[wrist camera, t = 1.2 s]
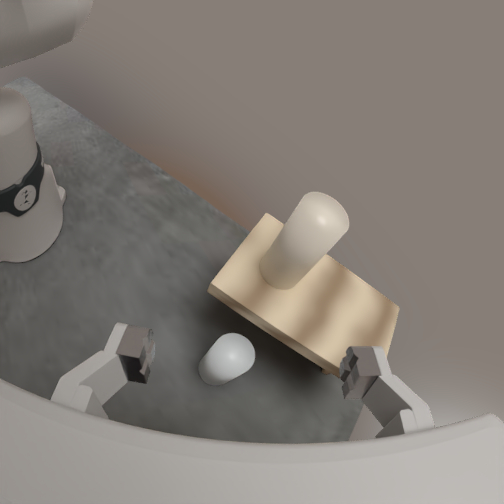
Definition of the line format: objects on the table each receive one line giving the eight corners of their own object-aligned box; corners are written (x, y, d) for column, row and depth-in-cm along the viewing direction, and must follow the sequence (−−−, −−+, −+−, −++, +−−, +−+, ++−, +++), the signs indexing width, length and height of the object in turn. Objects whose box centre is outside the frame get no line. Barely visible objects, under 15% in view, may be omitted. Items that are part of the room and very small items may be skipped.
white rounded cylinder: (252, 272, 31) (292, 212, 23) (271, 244, 34) (312, 183, 26) (288, 298, 31) (340, 246, 23) (305, 267, 34) (354, 213, 26)
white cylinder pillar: (191, 373, 37) (204, 358, 29) (209, 347, 40) (227, 325, 32) (220, 392, 37) (241, 382, 29) (237, 365, 40) (262, 348, 32)
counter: (190, 327, 41) (210, 282, 29) (234, 269, 48) (266, 212, 36) (312, 405, 40) (376, 390, 28) (340, 341, 47) (399, 307, 35)
